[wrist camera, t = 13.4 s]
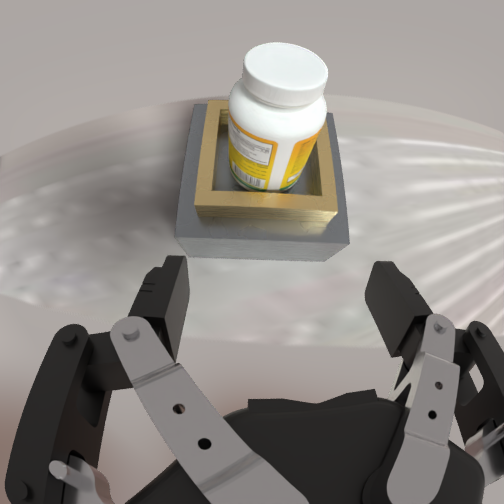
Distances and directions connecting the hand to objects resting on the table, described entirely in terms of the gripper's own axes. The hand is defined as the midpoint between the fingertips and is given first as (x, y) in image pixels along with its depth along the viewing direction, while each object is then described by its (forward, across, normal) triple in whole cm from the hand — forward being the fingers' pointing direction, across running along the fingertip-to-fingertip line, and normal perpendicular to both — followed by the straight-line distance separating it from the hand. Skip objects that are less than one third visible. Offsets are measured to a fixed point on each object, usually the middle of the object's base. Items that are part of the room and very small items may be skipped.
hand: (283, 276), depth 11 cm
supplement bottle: (+11, 0, -2) cm, 11 cm away
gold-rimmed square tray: (+15, 0, +2) cm, 16 cm away
